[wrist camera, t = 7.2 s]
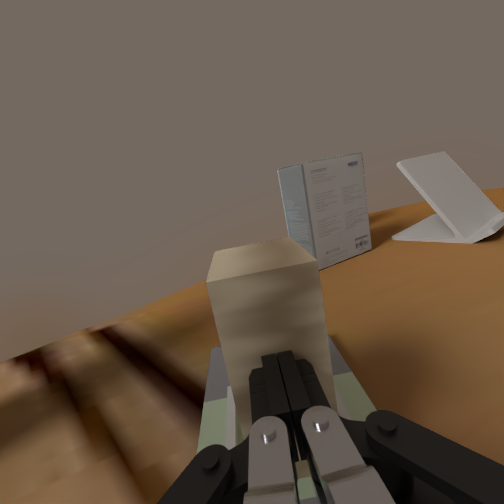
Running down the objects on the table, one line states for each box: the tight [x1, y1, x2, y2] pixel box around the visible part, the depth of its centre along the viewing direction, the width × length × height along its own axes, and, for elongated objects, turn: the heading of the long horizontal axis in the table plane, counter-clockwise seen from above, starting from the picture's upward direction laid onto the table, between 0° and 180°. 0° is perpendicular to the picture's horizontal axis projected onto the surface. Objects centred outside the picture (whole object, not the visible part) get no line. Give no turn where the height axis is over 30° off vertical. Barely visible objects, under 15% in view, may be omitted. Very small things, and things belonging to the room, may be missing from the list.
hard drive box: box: [277, 152, 372, 270], centre depth 54 cm, size 16×8×20 cm, turn 119°
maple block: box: [206, 237, 338, 479], centre depth 16 cm, size 5×6×12 cm
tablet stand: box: [392, 152, 504, 243], centre depth 60 cm, size 18×25×17 cm
